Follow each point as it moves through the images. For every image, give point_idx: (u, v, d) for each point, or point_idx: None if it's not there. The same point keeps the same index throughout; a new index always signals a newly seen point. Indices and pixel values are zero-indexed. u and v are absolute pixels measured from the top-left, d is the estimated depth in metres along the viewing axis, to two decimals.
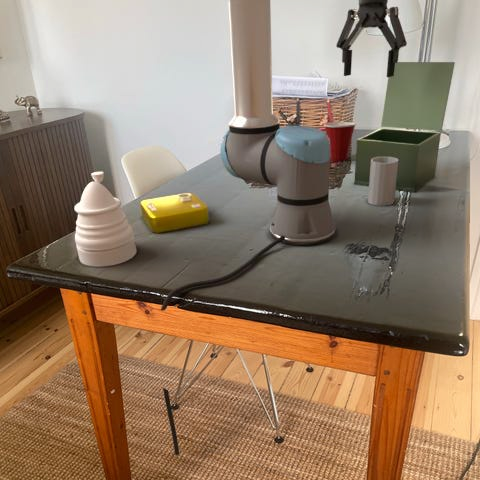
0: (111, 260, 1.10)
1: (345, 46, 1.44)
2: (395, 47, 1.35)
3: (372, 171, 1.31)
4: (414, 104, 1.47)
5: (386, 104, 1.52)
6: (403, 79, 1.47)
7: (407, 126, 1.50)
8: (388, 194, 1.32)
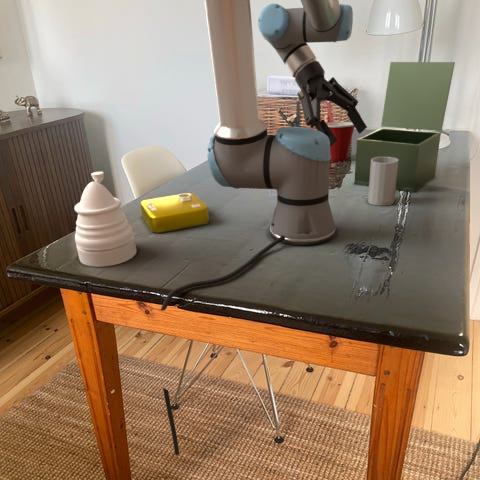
0: (111, 260, 1.10)
1: (319, 116, 1.31)
2: None
3: (372, 171, 1.31)
4: (414, 104, 1.47)
5: (386, 104, 1.52)
6: (403, 79, 1.47)
7: (407, 126, 1.50)
8: (388, 194, 1.32)
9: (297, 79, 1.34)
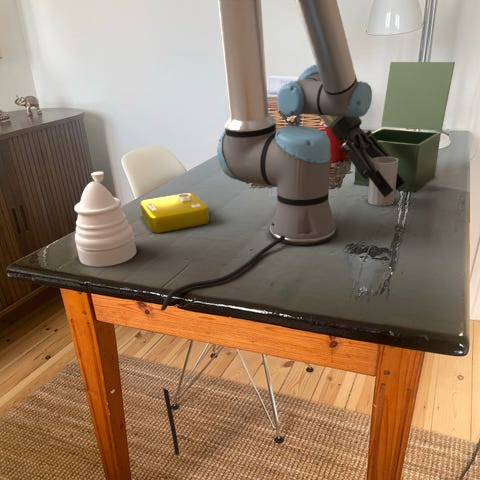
0: (111, 260, 1.10)
1: (373, 167, 1.29)
2: None
3: None
4: (414, 104, 1.47)
5: (386, 104, 1.52)
6: (403, 79, 1.47)
7: (407, 126, 1.50)
8: None
9: (335, 129, 1.31)
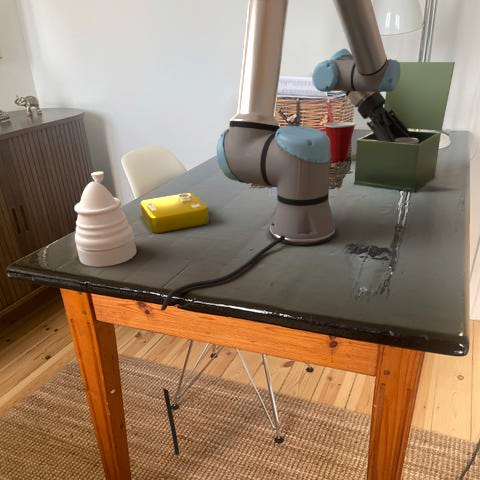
0: (111, 260, 1.10)
1: None
2: None
3: None
4: (414, 104, 1.47)
5: (386, 104, 1.52)
6: (403, 79, 1.47)
7: (407, 126, 1.50)
8: None
9: (361, 108, 1.45)
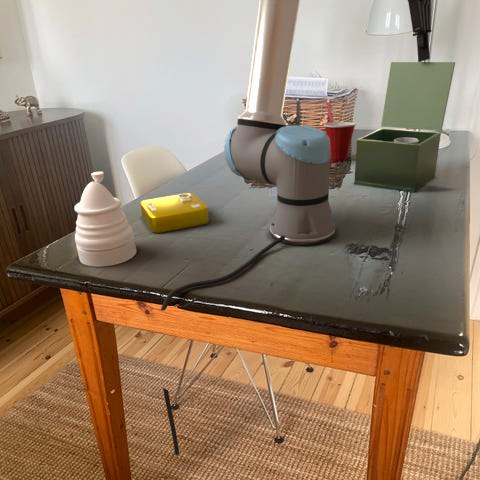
0: (111, 260, 1.10)
1: (424, 27, 1.38)
2: None
3: None
4: (414, 104, 1.48)
5: (386, 104, 1.52)
6: (403, 79, 1.47)
7: (407, 126, 1.50)
8: None
9: None
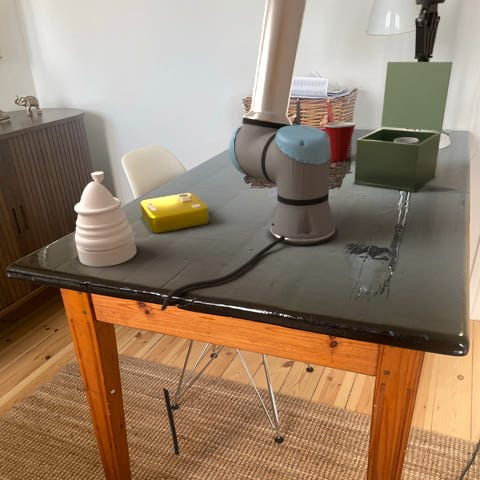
0: (111, 260, 1.10)
1: (426, 53, 1.42)
2: None
3: None
4: (413, 104, 1.47)
5: (385, 104, 1.52)
6: (401, 79, 1.46)
7: (407, 126, 1.50)
8: None
9: None
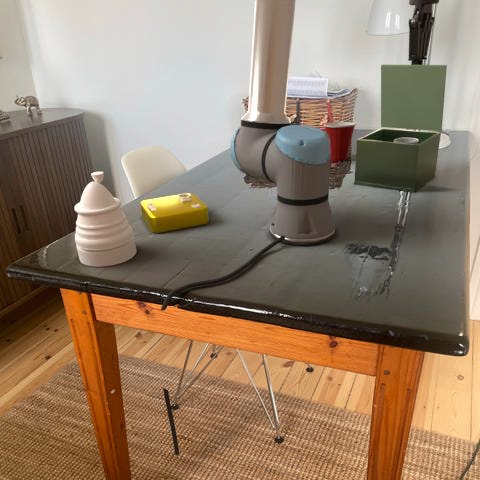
0: (111, 260, 1.10)
1: (420, 55, 1.39)
2: None
3: None
4: (410, 106, 1.46)
5: (383, 106, 1.51)
6: (396, 82, 1.44)
7: (407, 127, 1.50)
8: None
9: None
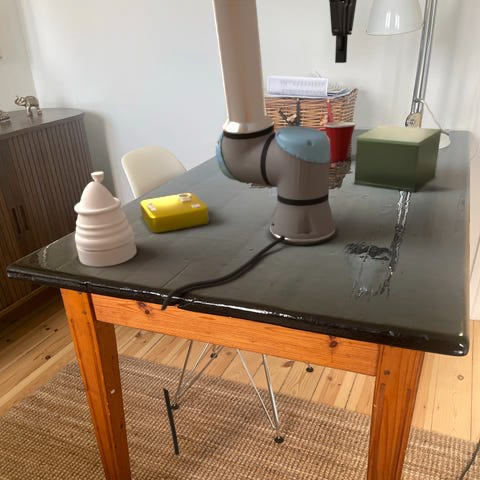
0: (111, 260, 1.10)
1: (344, 30, 1.35)
2: None
3: None
4: None
5: None
6: None
7: None
8: None
9: None
